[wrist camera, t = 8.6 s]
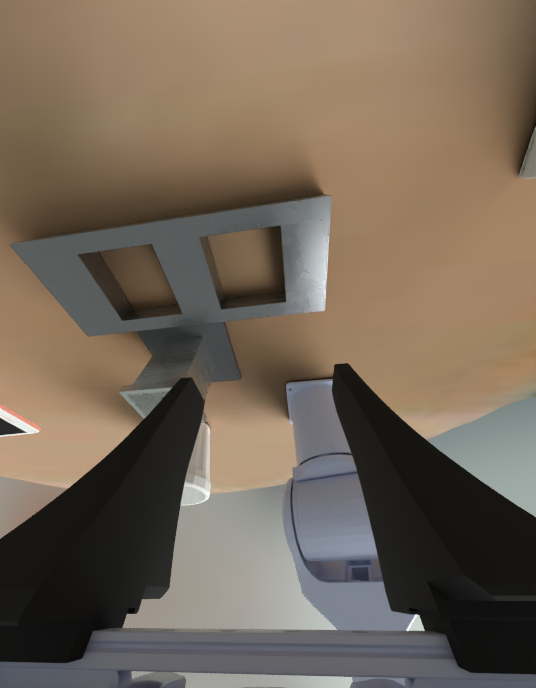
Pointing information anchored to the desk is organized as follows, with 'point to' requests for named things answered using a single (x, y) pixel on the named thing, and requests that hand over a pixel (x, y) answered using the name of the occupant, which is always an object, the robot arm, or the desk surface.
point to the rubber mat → (214, 339)
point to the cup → (198, 470)
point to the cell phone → (15, 423)
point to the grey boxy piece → (171, 373)
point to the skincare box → (530, 160)
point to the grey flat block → (184, 267)
